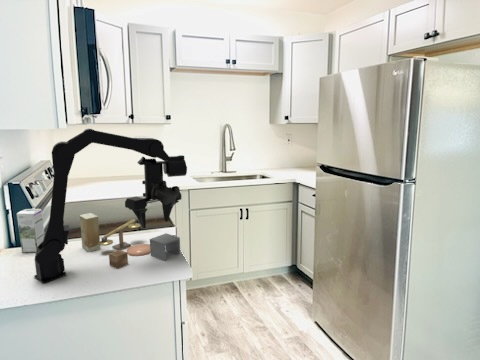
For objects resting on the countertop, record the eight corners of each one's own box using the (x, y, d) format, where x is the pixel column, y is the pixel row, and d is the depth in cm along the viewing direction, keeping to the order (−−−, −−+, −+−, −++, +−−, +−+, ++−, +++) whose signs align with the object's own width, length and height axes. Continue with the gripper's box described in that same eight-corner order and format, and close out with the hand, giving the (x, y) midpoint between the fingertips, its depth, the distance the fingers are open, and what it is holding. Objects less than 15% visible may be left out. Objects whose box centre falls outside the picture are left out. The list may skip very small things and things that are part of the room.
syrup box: (46, 246, 125) (42, 207, 122) (38, 253, 119) (32, 212, 117) (30, 246, 125) (25, 208, 122) (21, 253, 119) (15, 212, 116)
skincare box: (81, 247, 124) (78, 214, 122) (93, 244, 127) (91, 212, 125) (88, 252, 119) (85, 218, 117) (101, 249, 122) (98, 215, 120)
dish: (137, 258, 114) (137, 255, 114) (121, 251, 120) (121, 249, 120) (158, 249, 121) (158, 247, 121) (142, 244, 127) (142, 241, 127)
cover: (164, 261, 112) (163, 243, 111) (150, 255, 116) (149, 239, 115) (180, 254, 117) (179, 237, 116) (166, 249, 122) (165, 233, 121)
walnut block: (117, 268, 107) (116, 256, 106) (109, 265, 109) (108, 253, 109) (128, 264, 110) (127, 252, 109) (120, 261, 112) (119, 249, 112)
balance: (104, 256, 116) (102, 230, 115) (97, 252, 119) (95, 227, 117) (144, 242, 129) (142, 218, 127) (136, 239, 131) (135, 216, 130)
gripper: (145, 185, 98) (147, 237, 101) (192, 176, 113) (193, 222, 116) (122, 180, 105) (125, 229, 108) (169, 173, 120) (171, 216, 123)
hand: (155, 224), depth 113 cm, fingers open, 9 cm apart
